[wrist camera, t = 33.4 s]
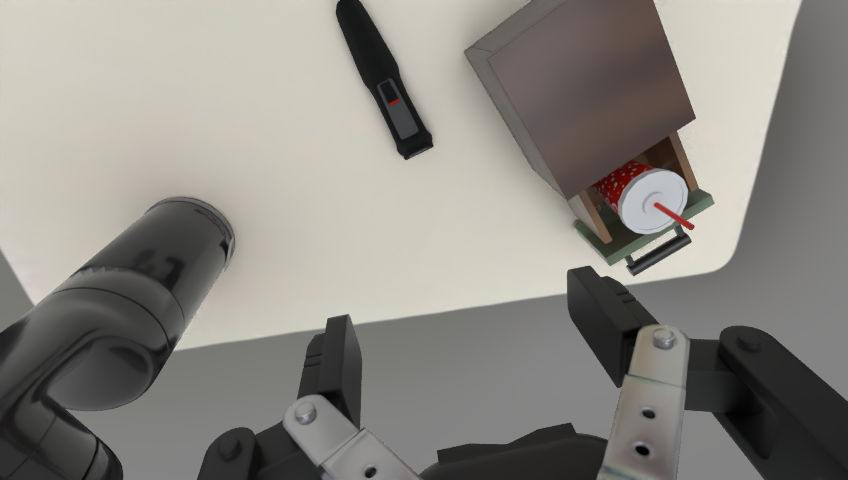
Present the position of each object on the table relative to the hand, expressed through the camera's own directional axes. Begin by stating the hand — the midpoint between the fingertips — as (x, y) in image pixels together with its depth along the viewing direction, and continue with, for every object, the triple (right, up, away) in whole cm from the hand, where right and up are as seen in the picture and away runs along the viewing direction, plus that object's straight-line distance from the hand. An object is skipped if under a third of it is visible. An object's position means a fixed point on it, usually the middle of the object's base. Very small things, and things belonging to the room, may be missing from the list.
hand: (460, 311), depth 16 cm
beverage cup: (+18, +10, +31) cm, 38 cm away
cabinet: (+12, +19, +28) cm, 36 cm away
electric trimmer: (-5, +17, +25) cm, 31 cm away
